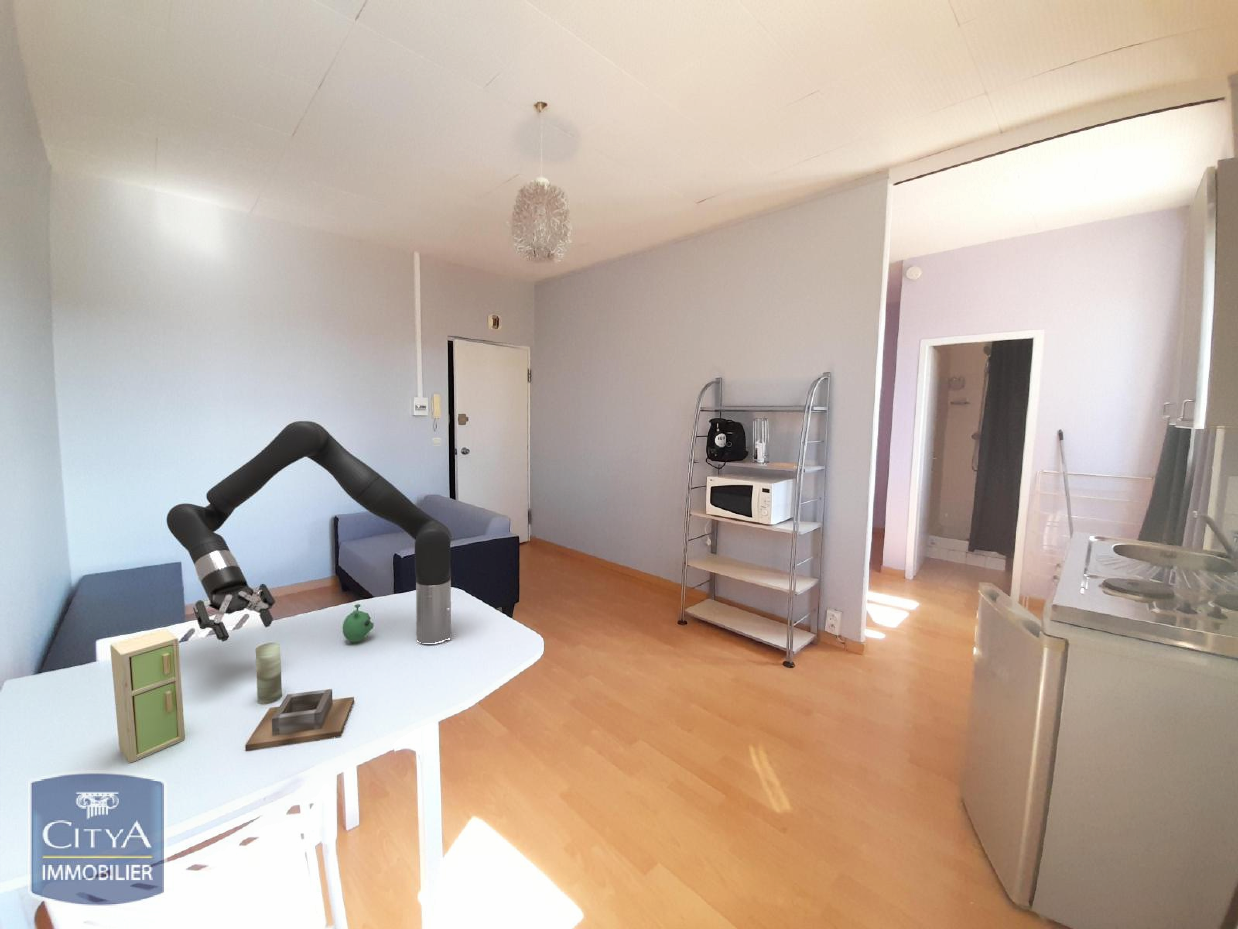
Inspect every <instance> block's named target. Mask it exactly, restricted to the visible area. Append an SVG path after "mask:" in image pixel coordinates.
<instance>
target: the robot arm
mask: <svg viewBox="0 0 1238 929" xmlns="http://www.w3.org/2000/svg"><path fill="white" fill-rule="evenodd" d="M303 458H308V459H309V460H311V461H313V462H315V463H316V464H317V465H319V466H320V467H321V468H323V469H324V470H326V471H327V472H328V473H329V474H330V475H331V476H332V477H333V478H334V480H335V481H336V482H337V483H338V484H339V486H340V487H341V488H342V490H343V491H344V492H345V493H346V494H347V495H348V496H349V497H350V498H351V499H352V500H353V501H355V502H356V503H357V504H358V505H360V507H362V508H364V509H365V510H366V511H368V512H369V513H371V514H373V515H375V516H376V517H378V518H380V519H383V520H385V521H388V522H389V523H392V524H394V525H396V526H397V527H399V528H401V529H402V530H403V531H405V533H407V534H408V535H409V536H410V537H411V538H412V539H414V540H415V541H414V574H415V584H416V585H415V588H416V589H415V594H416V595H415V596H416V597H415V598H416V601H415V606H416V607H415V610H416V611H415V613H416V614H415V617H416V619H415V620H416V622H415V624H416V625H415V626H416V632H415V633H416V634H415V635H416V641H417V640H418V641H419V642H421V643H435V642H439V641H442V640H445V639H448V638H450V636H451V634H452V600H451V599H452V596H451V595H452V592H451V591H452V590H451V589H452V588H451V585H452V584H451V583H452V582H451V581H452V580H451V578H452V577H451V576H452V572H451V571H452V570H451V569H452V568H451V543H452V534H451V531H450V530H449V528H448V527H447V526H446V525H445V524H444V523H442V522H440V521H439V520H438V519H436V518H434V517H433V516H431V515H430V514H428V513H426V512H425V511H423V510H422V509H420V507H418V506H417V505H416V504H414V502H412V501H411V500H410V498H408V497H407V496H406V495H405V494H404V493H402V492H401V491H400V490H399V489H398V488H397V487H396V486H395V485H393V484H392V482H390V481H389V480H387V479H386V478H384V476H383V475H381V474H379V472H377V471H376V470H374V469H373V468H372V467H371V466H369V465H368V464H366V463H365V462H363V461H362V460H361V459H359V458H358V457H357V456H354V454H352V453H351V452H349V451H348V450H347V449H346V448H345V447H344V446H342V444H340V442H339V441H337V439H335V437H333V436H332V435H331V434H330V432H329V431H328V430H326V428H324V426H322V425H321V424H319V423H317V422H315V421H309V420H298V421H294V422H291V423H289V424H287V425H286V426H285V427H284V428H283V429H282V430H281V431H280V432H279V433H278V434H277V435H276V436H275V438H274V439H272V440H271V441H270V442H269V443H268V444H267V446H266V447H264V448H263V449H262V450H261V451H260V452H258V454H256V455H255V456H254V457H252V458H251V459H249V461H247V462H245V464H243V465H241V466H240V467H239V468H238V469H236V470H234V471H233V472H231V474H229V475H227V476H226V477H224V478H223V479H222V480H220V482H217V483H216V484H215V485H213V486H212V487H211V488H210V489H209V490H208V491H207V492H206V495H205V496H206V500H207V501H208V503H209V504H208V505H206V506H202V505H197V504H194V503H186V502H185V503H179V504H176V505H175V506H173V507H172V508H171V509H169V511H168V513H167V515H166V525H167V528H168V530H169V532H170V533H171V534H172V535H173V537H174V538H175V539H176V541H178V542H179V544H180V545H181V546H182V547H183V548H185V550H186V551H187V552H188V554H189V556H190V559H191V560H192V562H193V565H194V568H195V570H196V575H197V577H198V580H199V581H200V584H201V586H202V588H203V590H204V592H205V594H206V596H207V598H208V600H205V601H203V600H197V601H196V602H195V604H194V606H193V608H192V609H193V612H194V613H193V614H194V615H195V618H196V621H197V624H198V626H199V628H200V630H206V629H212V630H213V632H214V634H215V636H216V638H217V640H218V641H221V642H226V641H228V639H229V638H230V635H229V633H228V632H229V631H228V630H227V627H226V626H225V624H224V622H223V621H222V620H223V617H224V615H225V614H227V615H231V614H234V613H236V612H241V611H244V610H245V609H246V610H248V611H251V612H252V611H253V612H255V613H258V614H259V615H258V616H259V618H260V620H261V623H262V624H263V626H264V627H265V628H268V627H270V626H271V624H272V623H273V621H274V617H273V615H272V614H271V612H270V610H271V609H272V608H273V606H274V604H275V603H276V600H275V598H274V597H273V595H272V593H271V591H270V590H269V589H268V586H267V584H265V583H261V584H260V585H259V586H257V587H254V588H252V587H250V586H249V584H248V581H247V579H246V577H245V576H244V573H243V571H242V569H241V567H240V565H239V563H238V561H237V559H236V558H235V556H234V555H233V554H232V552H231V550H230V548H229V546H228V544H227V542H226V540H225V539H224V537H223V536H222V535H221V534H218V533H216V532H217V531H218V530H220V528H221V527H222V526H223V525H224V524H225V522H226V521H227V520H228V518H230V516H231V515H232V514H233V512H234V511H235V509H237V508H238V507H240V506H241V505H242V504H243V503H245V502H246V501H248V500H249V499H250V498H251V497H253V496H254V495H256V494H257V493H258V492H259V491H260V490H261V489H263V487H265V485H266V484H267V483H268V482H269V481H270V480H271V479H272V478H274V476H276V475H277V474H278V473H280V472H281V471H282V470H283V469H286V468H287V467H289V466H290V465H292V464H294V463H296V462H297V461H299V460H302V459H303ZM253 595H255V596H256V597H255V596H253ZM257 597H259V598H257ZM209 607H210V608H213V609H214V610H216V611H217V612H216V613H215V615H214V618H213V619H210V617H209V614H208V609H209ZM451 637H452V636H451ZM450 639H451V638H450Z"/></svg>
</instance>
